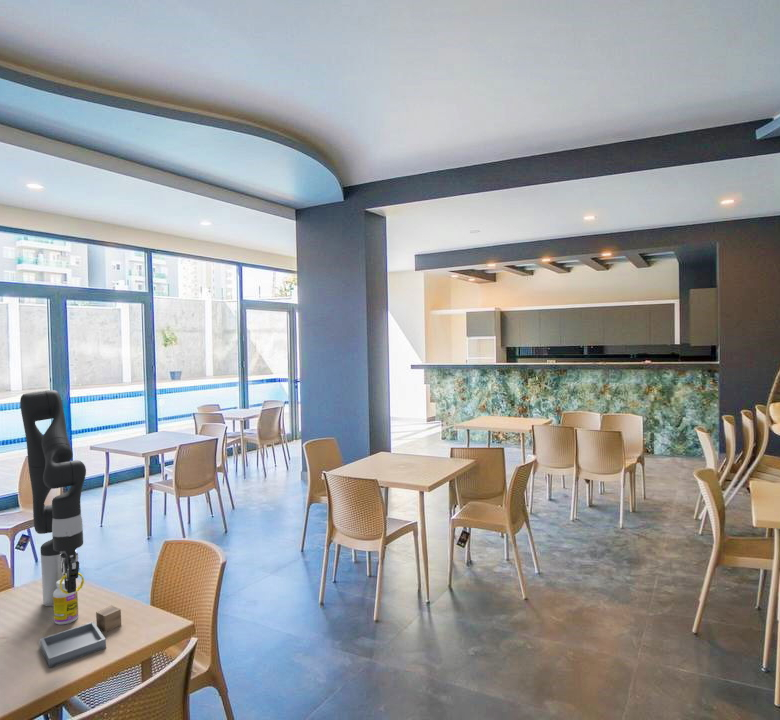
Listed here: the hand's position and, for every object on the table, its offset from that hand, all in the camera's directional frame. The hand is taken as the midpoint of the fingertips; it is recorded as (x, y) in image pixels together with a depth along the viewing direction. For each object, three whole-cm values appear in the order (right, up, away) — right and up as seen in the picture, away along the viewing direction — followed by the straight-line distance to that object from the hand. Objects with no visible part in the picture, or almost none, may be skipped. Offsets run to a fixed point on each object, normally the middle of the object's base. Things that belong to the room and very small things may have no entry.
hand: (70, 590), depth 157 cm
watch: (0, -1, 0) cm, 1 cm away
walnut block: (+5, -16, +12) cm, 21 cm away
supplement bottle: (-11, -17, +17) cm, 26 cm away
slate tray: (+1, -17, 0) cm, 17 cm away
